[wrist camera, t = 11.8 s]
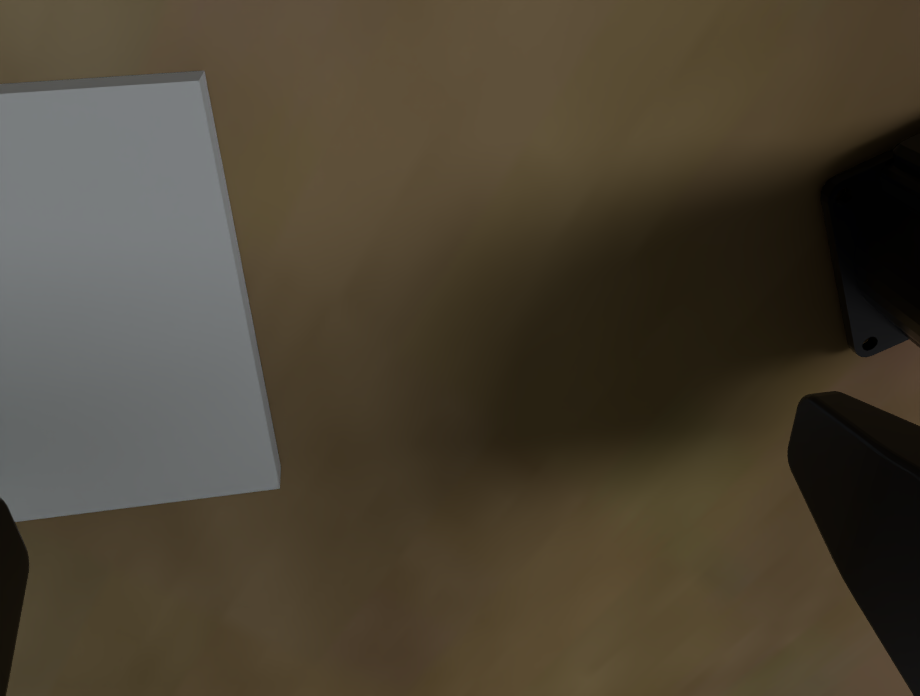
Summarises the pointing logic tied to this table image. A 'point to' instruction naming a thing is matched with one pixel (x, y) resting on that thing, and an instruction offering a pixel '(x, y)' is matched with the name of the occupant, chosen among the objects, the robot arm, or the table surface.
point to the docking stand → (122, 303)
